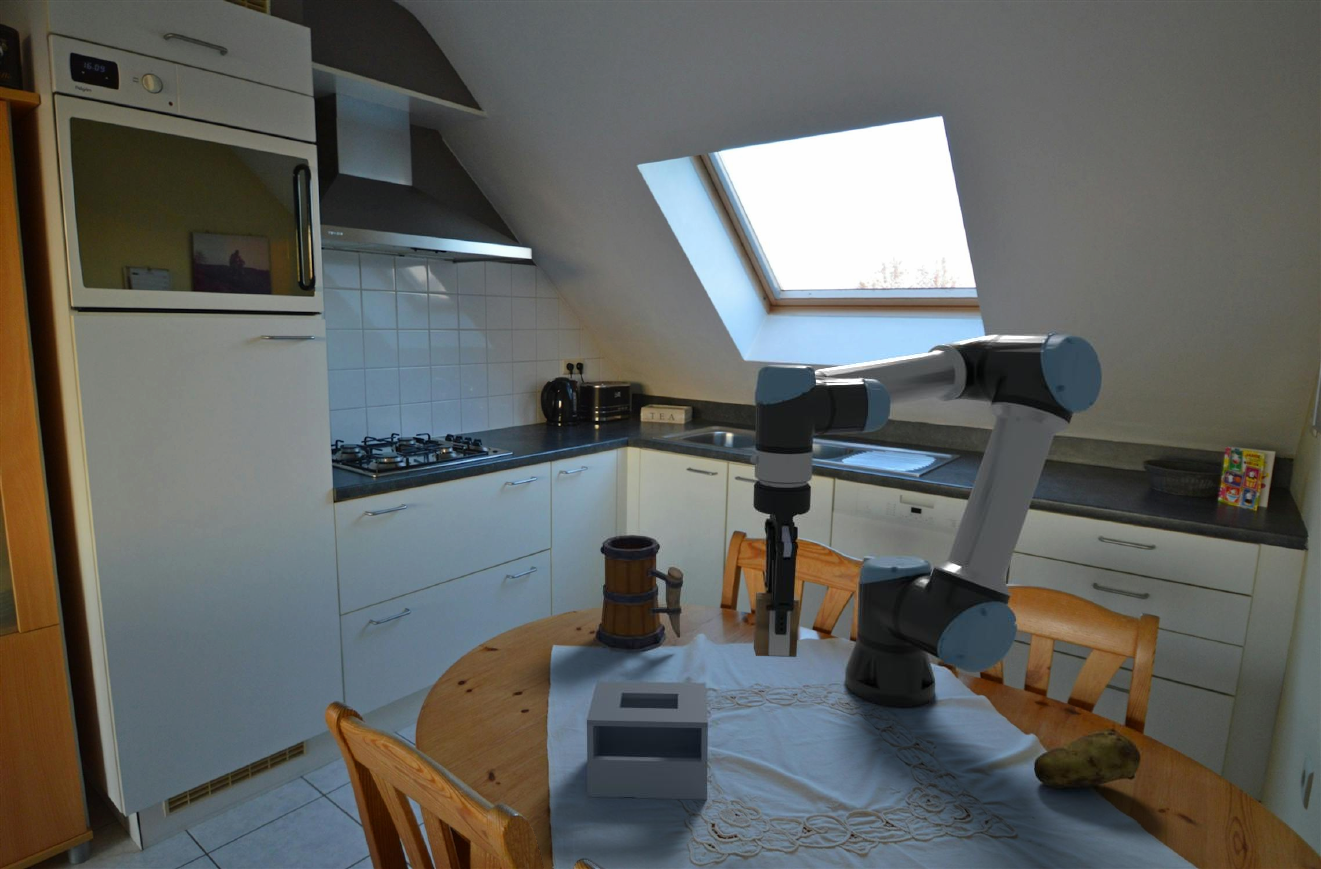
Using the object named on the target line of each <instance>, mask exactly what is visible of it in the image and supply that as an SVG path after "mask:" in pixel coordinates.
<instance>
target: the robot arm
mask: <svg viewBox="0 0 1321 869" xmlns="http://www.w3.org/2000/svg"><path fill="white" fill-rule="evenodd" d="M1102 376H1103V375H1102V366H1101V363H1100V360H1099V356H1098V354H1097V351H1096V350H1095V348H1094V347H1093V346H1092V345H1091V343H1090V342H1089V341H1088V340H1086V339H1084V338H1083V337H1081V336H1077V335H1072V334H1071V335H1070V334H1061V333H1057V332H1055V333H1048V334H1047V333H1046V334H1045V333H1042V334H1040V333H1036V334H1035V333H1033V334H1031V333H1029V334H1028V333H1027V334H1026V333H1018V334H1017V333H1016V334H1015V333H1014V334H1013V333H996V334H995V333H994V334H988V335H982V336H979V337H975V338H968V339H964V340H959V341H954V342H950V343H944V344H939V345H935V346H934V347H932V348H930V349H929V350H928V352H925V353H919V354H918V353H917V354H912V355H906V356H900V357H898V356H897V357H893V358H886V359H881V360H875V361H866V362H861V363H860V362H859V363H854V364H847V365H841V366H834V367H826V368H822V369H821V368H819V369H815V368H814V367H813V366H811V365H803V364H802V365H800V364H769V365H768V364H767V365H764V366H762V367H761V368H760V370H759V371H758V374H757V381H756V387H755V391H754V403H755V433H754V434H755V441H754V442H755V447H754V448H755V450H754V451H755V452H754V453H755V454H756V455H753V456H751V457H750V461H749V462H750V463H751V464H754V477H755V479H757V481H755V483H753V504H752V505H753V508H754V509H755V511H757V512H759V513H762V514H765V515H769V517H768V518H767V517H766V519H765V521H764V532H765V581H764V587H765V588H766V592H765V593H772V604H771V605H766V610H767V611H770V616H769V649H768V654H769V656H768V657H778V656H789V645H790V616H791V611H793V610H794V594H795V589H796V588H795V586H796V571H797V570H796V569H797V568H796V567H797V556H798V549H799V544H798V541H797V540H798V538H799V536H798V534H799V528H798V526H796V524H795V521H794V517H796V516H797V515H799V516H800V515H801V516H802V515H804V514H807V513H808V512H809V511H810V510H811V499H812V498H811V496H812V495H811V494H812V486H811V484H810V483H808V482H810V481H811V480H812V477H813V476H812V475H813V459H814V458H813V456H814V450H813V445H814V437H815V436H822V435H825V436H827V435H842V434H843V435H845V434H848V435H849V434H858V435H863V434H864V433H871V432H872V433H873V432H875V431H878V430H881V429H882V428H883V427H885V425H886V423H887V421H888V420H889V417H890V415H891V406H894V405H898V404H904V403H905V404H906V403H909V402H915V401H922V400H926V399H931V398H935V399H937V400H938V401H942V402H948V401H954V400H969V401H979V402H980V401H981V402H985V403H986V402H987V403H990V406H989V407H990V409H991V411H992V413H993V414H994V417H995V419H996V420H995V422H994V425H993V427H992V431H991V433H990V437H989V440H988V443H987V445H986V448H985V451H984V454H983V457H982V460H981V463H980V466H979V469H978V471H977V474H976V477H975V480H974V483H973V486H972V489H971V491H970V494H969V497H968V500H967V503H966V506H965V508H964V512H963V514H962V518H961V520H960V523H959V526H958V529H957V532H956V535H955V537H954V540H953V543H952V547H951V549H950V551H949V555H948V557H947V559H946V560H944V561H942V562H939V563H938V564H936V565H934V566H933V569H932V567H931V562H930V561H928V560H926V559H924V558H920V557H916V556H908V555H906V556H903V555H889V556H878V557H873V558H872V557H871V558H870V559H867V560H866V561H864V562H863V563H862V565H861V566H860V571H859V579H858V582H857V584H858V589H857V590H858V592H857V596H858V597H857V598H858V599H857V632H856V634H857V635H856V642H855V643H854V647H853V648H852V652H851V654H850V657H849V658H848V662H847V664H846V667H845V672H844V673H845V674H844V675H845V676H844V678H845V679H844V683H845V685H846V687H847V688H848V690H850V692H852V693H853V694H854V695H856V696H858V697H859V698H861V699H863V700H866V701H869V702H871V703H875V704H878V705H883V706H888V707H896V708H910V707H917V706H922V705H925V704H927V703H929V702H930V701H932V700H933V699H934V697H935V694H936V677H935V673H934V671H933V668H932V664H931V660H930V657H929V655H931V656H933V657H935V658H936V659H939V660H940V661H941V662H942V663H944V664H946V665H949V666H951V667H955V668H956V669H958V670H959V669H960V670H961V671H964V672H968V673H981V672H985V671H987V670H989V669H991V668H992V667H993V666H995V665H998V664H999V663H1000V662H1001V661H1002V660H1003V659H1004V658H1005V657H1006V655H1008V653H1009V651H1010V650H1011V649H1012V646H1013V644H1014V642H1015V639H1016V636H1017V631H1018V625H1017V623H1016V622H1017V617H1016V616H1017V615H1016V613H1015V612H1014V610H1012V609H1011V607H1010V606H1009V605H1008V604H1009V601H1010V599H1011V596H1012V595H1011V594H1012V593H1011V591H1010V590H1009V588H1008V585H1007V584H1006V581H1005V579H1006V576H1007V574H1008V573H1007V572H1008V570H1009V567H1010V564H1011V562H1012V559H1013V556H1014V552H1015V549H1016V546H1017V545H1018V541H1019V538H1020V535H1021V532H1022V530H1023V526H1024V523H1025V521H1026V518H1027V515H1028V512H1029V510H1030V506H1031V503H1032V501H1033V497H1034V494H1035V492H1036V489H1037V486H1038V483H1039V480H1040V477H1041V474H1042V472H1043V469H1044V465H1045V462H1046V460H1047V457H1048V454H1049V452H1050V448H1051V445H1052V442H1053V440H1054V436H1055V435H1057V434H1058V433H1060V432H1062V431H1064V430H1066V429H1068V428H1069V426H1070V424H1071V421H1072V417H1073V415H1074V414H1079V413H1082V412H1085V411H1088V410H1089V409H1090V408H1091V407H1092V406H1093V405H1095V403H1096V401H1097V399H1098V397H1099V395H1100V392H1101V387H1102Z"/></svg>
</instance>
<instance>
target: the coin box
mask: <svg viewBox="0 0 1321 869" xmlns="http://www.w3.org/2000/svg"><path fill="white" fill-rule="evenodd" d="M707 699H708V698H707V683H706V682H678V681H676V682H674V681H673V682H670V681H669V682H667V681H665V682H664V681H617V680H615V681H614V680H611V681H610V680H597V681H596V683H595V687H594V690H593V694H592V699H591V702H590V706H589V710H588V714H587V717H586V756H587V757H586V762H587V765H586V766H587V769H586V770H587V771H586V773H587V777H586V778H587V780H586V781H587V797H588V798H618V797H635V798H634V799H661V800H663V799H665V800H708V753H709V752H708V751H709V750H708V748H709V747H708V744H709V742H708V739H709V719H708V717H709V716H708V702H707V701H708V700H707Z"/></svg>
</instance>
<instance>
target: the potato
mask: <svg viewBox="0 0 1321 869" xmlns="http://www.w3.org/2000/svg"><path fill="white" fill-rule="evenodd" d="M1140 763H1141V753H1140V750H1139V749H1138V747H1137V745H1136V744H1135V742H1133V741H1132V740H1131V739H1129V738H1128V737H1126V736H1124V735H1123V734H1120V733H1118V732H1115V731H1113V730H1110V729H1109V730H1106V729H1104V730H1102V729H1101V730H1100V729H1099V730H1097V731H1094V732H1091V733H1088V734H1086V735H1085V734H1083V736H1081V737H1078V738H1076V739H1074V740H1072V741H1070V742H1069V743H1067V744H1065V745H1063V746H1059V747H1055V748H1052V749H1050V750H1048V751H1046V752H1044V753H1042V754H1040V755H1039V756H1037V757H1036V759H1035V760H1034V763H1033V764H1034V766H1033V767H1034V768H1033V769H1034V774H1035V777H1036V778H1037V779H1038V780H1039V782H1040V783H1042V784H1044V785H1045V786H1048V787H1050V788H1052V789H1053V788H1054V789H1062V788H1065V787H1067V788H1080V789H1081V788H1083V789H1084V788H1088V787H1096V786H1100V785H1103V784H1107V783H1111V782H1114V781H1119V780H1125V779H1126V780H1131V781H1132V780H1134V779H1136V776H1135V774H1136V773H1137V772H1138V769H1139V766H1140Z"/></svg>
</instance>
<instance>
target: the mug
mask: <svg viewBox="0 0 1321 869" xmlns="http://www.w3.org/2000/svg"><path fill="white" fill-rule="evenodd" d="M660 548H661V545H660V543H659V542H658V541H657V539H656V538H653V537H650V536H646V535H638V534H637V535H636V534H626V535H617V536H613V537H612V536H611V537H608V538H607V539H606V540H603V542H602V546H601V547H600V549H599V550H600V553H601V554H602V555H604V584H603V585H602V596H603V602H602V612H601V622H600V623H599V624H598V630H596V632H595V639H596V642H597V645H599V646H600V647H603V648H605V649H607V650H609V651H615V652H620V651H621V652H622V653H627V654H628V653H629V654H630V653H637V652H648V651H650V650H653V649H655V648H657V647H660V646H661V645H662V644H663V643H664V642H665V640H666V639H667V634H666V633H665V631H666V626H665V625H664V624H662V622H661V618H660V614H667V615H668V618H669V622H670V625H671V627H672V631H673V632H674V634H675V635H676V638H678V639H680V638H681V614H682V613H683V611H682V606H681V592H682V587H683V585H684V580H683V579H684V573H683V572H682V571H681V570H680V569H679V568H677V567H674V566H673V567H672V566H669V567H668V570H667V574H666V573H664V572H661V571H659V569H657V554H658V553H659V550H660ZM657 578H658V579H660V580H662V581H663V582H665V603H666V607H664V606H663V607H662V606H661V607H660V606H659V598H658V596H659V585H658V584H657ZM621 652H620V653H621Z"/></svg>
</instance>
